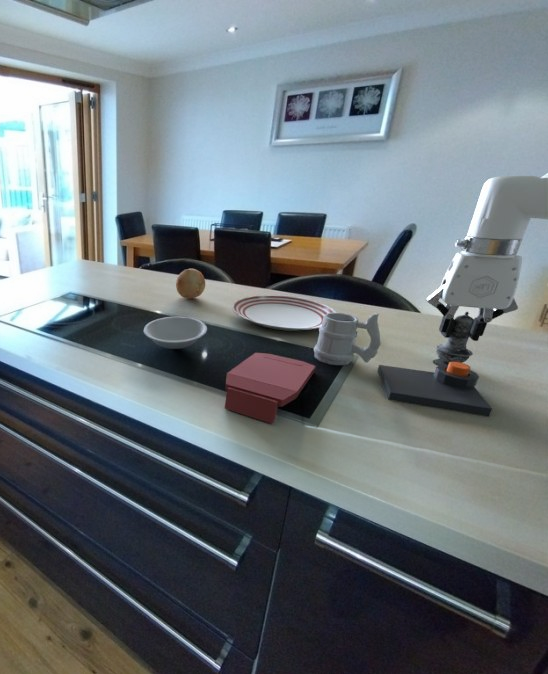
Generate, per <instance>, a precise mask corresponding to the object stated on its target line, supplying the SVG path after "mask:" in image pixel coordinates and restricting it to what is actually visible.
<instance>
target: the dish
mask: <svg viewBox="0 0 548 674" xmlns="http://www.w3.org/2000/svg"><path fill="white" fill-rule="evenodd" d="M207 332H208V327H207V324H206V323H205V322H203V321H201V320H199V319H196V318H193V317H190V316H189V317H187V316H165V317H161V318H157V319H154V320H152V321H150V322H148V323H147V324H146V325H145V326H144V328H143V333H144V335H145V336H146V337H147V338H149V339H150V340H151V341H152V342H153V343H154V344H155V345H157V346H158V347H161V348H163V349H167V350H168V349H169V350H180V349H184V348H188V347H190V346H192V345H194V344H195V343H196V342H198V341H199V340H200V339H201V338H203V337H204V336H205V335H206V334H207Z"/></svg>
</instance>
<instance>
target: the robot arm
mask: <svg viewBox="0 0 548 674" xmlns="http://www.w3.org/2000/svg"><path fill="white" fill-rule="evenodd" d="M531 219H539V220H548V172H547V173H546V174H544V175H542V176H541V177H540V176H537V175H536V176H535V175H499V176H494V177H490V178H489V179H488V180H486V181H485V182H484V183H483V186H482V188H481V191H480V193H479V197H478V201H477V203H476V207H475V209H474V214H473V216H472V219H471V222H470V225H469V228H468V231H467V233H466V235H465V236H464V238H461V239H456V240H455V241H454V247H455V248H460V250H461V251H457V252H456V253H455V255H454V256H453V259H452V260H451V262H450V263H449V266H448V268H447V270H446V272H445V274H444V277H443V279H442V281H441V284H440V286H439V288H437V289H436V290H435V291H434V292H433V293H431V294H430V295H429V296H428V297H427V298H426V299H425V300H426V302H427V303H428V304H429V305H431V306H432V307H433V308H436V309H437V310H438V311H439V313H440V314H441V315H442V318H441V321H440V325H439V328H438V331H439V332H440V334H441V335H442V336H443V337H444V338H446V339H448V337H450V335H451V332H452V329H453V326H454V323H455V314H456V313H457V311H458V310H459V308H460V307H465V308H473V309H474V308H475V309H478V315H477V316H476V317H474V318H473V319H474V323H473V326H472V329H471V331H470V333H471V334H472V336H470V337H469V338H470V339H471V340H472V341H474V342H478V341H479V339H480V337H483V335H484V333H485V330H486V328H487V325H488V324H489V323H491V322H492V321H493V320H494V319H497V318H498V317H501V316H503V315H504V314H508V313H511V312H514V311H517V310H518V309H519V305H518V303H517V301H516V299H515V294H516V291H517V288H518V284H519V280H520V275H521V271H522V262H523V257H522V256H521V255H518V252H519V249H520V247H521V244H522V241H523V238H524V236H525V233H526V230H527V228H528V225H529V223H530V220H531ZM440 300H442V302H443V303H445V305H444V304H443V303H442V302H441V301H440Z"/></svg>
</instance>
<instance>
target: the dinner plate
mask: <svg viewBox="0 0 548 674" xmlns="http://www.w3.org/2000/svg"><path fill="white" fill-rule="evenodd" d="M231 309H232V311H233V312H234V314H235V315H237V316H238V317H240V318H242V319H244V320H246V321H248V322H250V323H253V324H256V325H258V326H260V327H264V328H267V329H271V330H278V331H286V332H297V331H298V332H300V331H309V330H310V331H311V330H317V329H318V330H319V328H320V326H321V325H322V322H323V318H324V315H326V314H327V313H333V312H334V313H338V312H337V311H336V310H335V309H334V308H332V307H331V306H328V305H326V304H324V303H322V302H319V301H315V300H313V299H309V298H303V297H298V296H292V295H283V294H281V295H280V294H258V295H257V294H256V295H250V296H245V297H241V298H239V299H237V300H235V301H234V302H233V303H232V304H231Z"/></svg>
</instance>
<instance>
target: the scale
mask: <svg viewBox="0 0 548 674" xmlns="http://www.w3.org/2000/svg"><path fill="white" fill-rule="evenodd" d="M447 368H448V365H439V366H436V367H435V370H434V371H427V370H420V369H412V368H406V367H398V366H392V365H391V366H390V365H385V364H378V367H377V371H376V372H377V373H376V374H377V375H378V377H379V381H380V383H381V385H382V388H383V391H384V393H385V395H386V398H387V400H388V401H394V402H400V403H404V404H411V405H417V406H422V407H428V408H435V409H440V410H446V411H452V412H458V413H463V414H470V415H476V416H481V417H487V418H489V417H490V416H491V413H492V411H493V407H492V406H491V405H490V404H489V403H488V402H487V400H486V399H485V397H484V396H482V394H481V393H480V392H479V391H478V390H477V388H476V386H477V384H478V381H479V379H480V376H479V374H478V373H477V372H475V371H474V370H471V369H470V370H469V373H468V376H457V375H454V374H450V373H448V372H446V370H447Z"/></svg>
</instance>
